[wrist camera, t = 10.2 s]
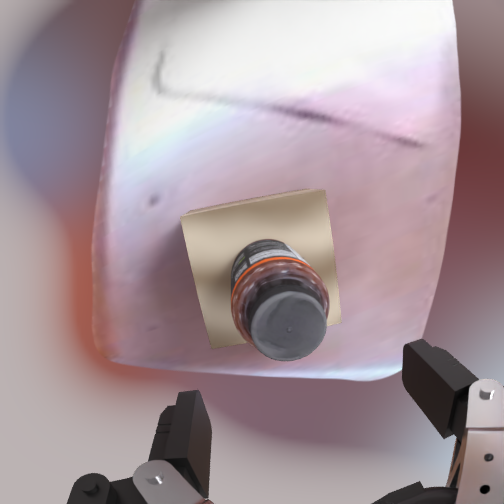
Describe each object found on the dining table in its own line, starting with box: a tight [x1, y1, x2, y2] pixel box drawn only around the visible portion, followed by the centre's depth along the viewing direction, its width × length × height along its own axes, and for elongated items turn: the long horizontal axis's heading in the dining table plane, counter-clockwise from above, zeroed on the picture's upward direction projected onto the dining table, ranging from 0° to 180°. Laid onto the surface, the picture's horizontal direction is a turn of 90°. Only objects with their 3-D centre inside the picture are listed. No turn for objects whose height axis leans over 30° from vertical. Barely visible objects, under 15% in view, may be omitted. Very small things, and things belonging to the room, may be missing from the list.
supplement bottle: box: [231, 239, 330, 361], centre depth 22 cm, size 6×6×11 cm
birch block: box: [180, 189, 342, 349], centre depth 31 cm, size 12×12×7 cm
